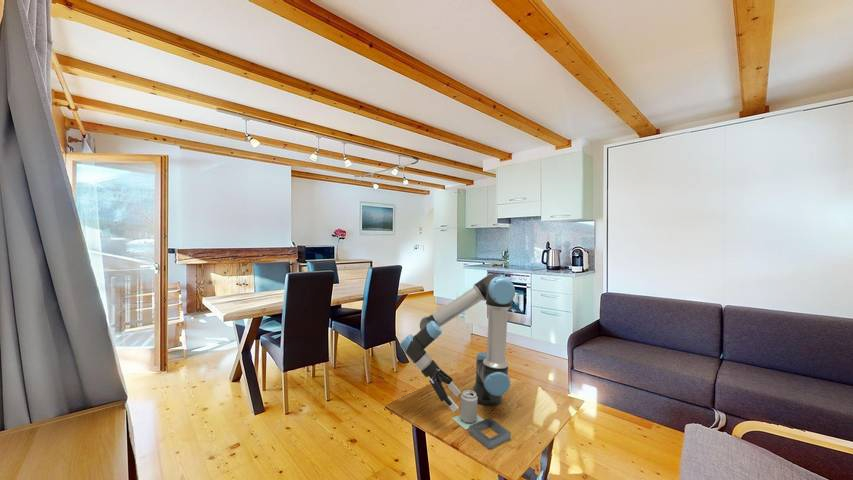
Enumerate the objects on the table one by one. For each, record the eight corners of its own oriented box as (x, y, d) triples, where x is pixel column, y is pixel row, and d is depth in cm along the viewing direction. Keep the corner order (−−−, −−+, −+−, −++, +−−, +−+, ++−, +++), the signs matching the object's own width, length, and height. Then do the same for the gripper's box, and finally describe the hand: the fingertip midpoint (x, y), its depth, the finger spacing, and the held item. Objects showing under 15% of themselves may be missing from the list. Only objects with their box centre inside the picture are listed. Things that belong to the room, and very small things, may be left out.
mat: (471, 411, 150) (471, 410, 150) (485, 421, 142) (485, 420, 142) (451, 419, 143) (451, 418, 143) (465, 430, 135) (465, 429, 135)
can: (479, 423, 140) (480, 396, 140) (464, 425, 138) (465, 398, 137) (472, 413, 147) (473, 388, 147) (457, 415, 145) (458, 389, 145)
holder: (489, 424, 140) (489, 417, 140) (510, 439, 130) (510, 432, 130) (468, 433, 133) (469, 425, 133) (489, 449, 123) (489, 442, 123)
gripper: (425, 359, 158) (454, 393, 156) (414, 382, 134) (448, 422, 131) (436, 350, 157) (465, 384, 155) (427, 371, 133) (461, 411, 130)
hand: (457, 402), depth 143 cm, fingers open, 13 cm apart
